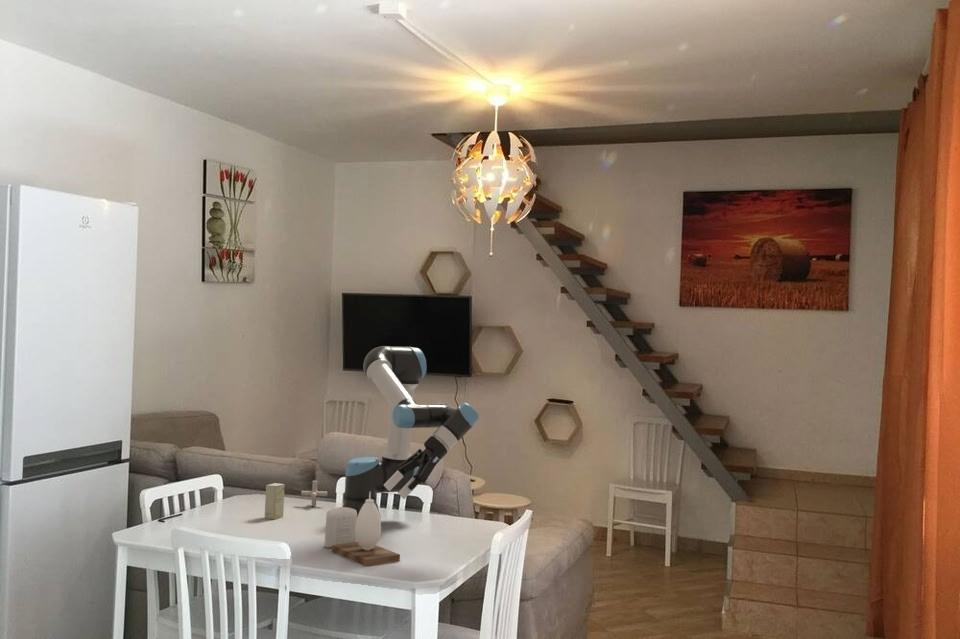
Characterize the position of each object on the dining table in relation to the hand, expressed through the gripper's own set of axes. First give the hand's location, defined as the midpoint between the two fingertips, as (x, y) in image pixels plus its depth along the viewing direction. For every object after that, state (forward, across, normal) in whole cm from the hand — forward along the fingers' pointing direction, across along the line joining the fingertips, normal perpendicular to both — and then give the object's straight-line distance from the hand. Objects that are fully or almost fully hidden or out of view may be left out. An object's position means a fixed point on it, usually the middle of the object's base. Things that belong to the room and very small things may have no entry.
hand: (393, 492), depth 265 cm
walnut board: (+20, 0, -8) cm, 21 cm away
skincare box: (+31, +62, +2) cm, 69 cm away
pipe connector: (+17, +80, -11) cm, 82 cm away
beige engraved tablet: (+22, +15, -6) cm, 27 cm away
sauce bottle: (+18, 0, -7) cm, 19 cm away
